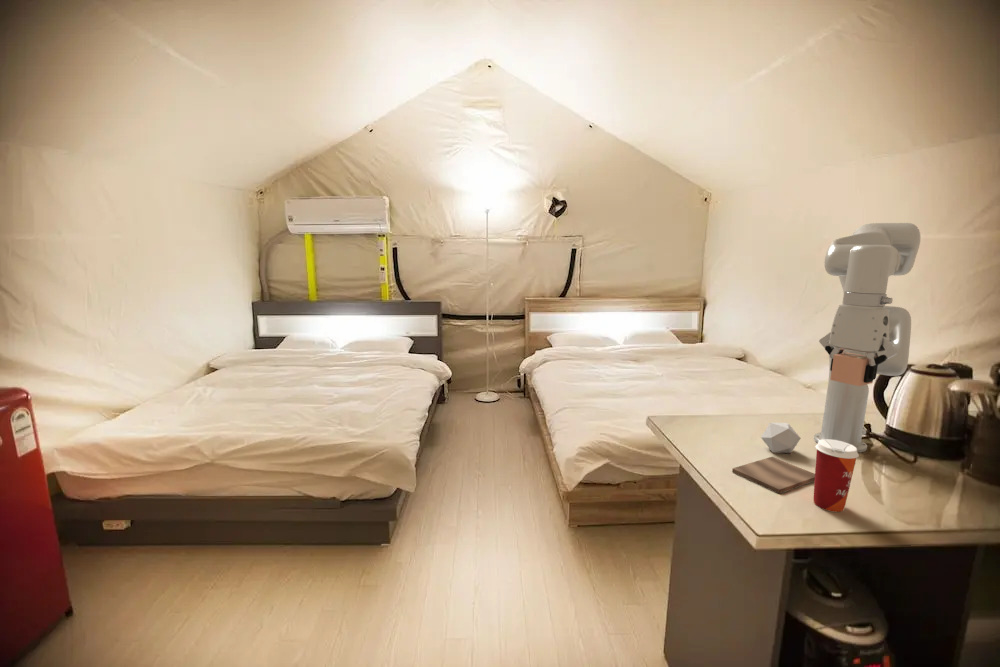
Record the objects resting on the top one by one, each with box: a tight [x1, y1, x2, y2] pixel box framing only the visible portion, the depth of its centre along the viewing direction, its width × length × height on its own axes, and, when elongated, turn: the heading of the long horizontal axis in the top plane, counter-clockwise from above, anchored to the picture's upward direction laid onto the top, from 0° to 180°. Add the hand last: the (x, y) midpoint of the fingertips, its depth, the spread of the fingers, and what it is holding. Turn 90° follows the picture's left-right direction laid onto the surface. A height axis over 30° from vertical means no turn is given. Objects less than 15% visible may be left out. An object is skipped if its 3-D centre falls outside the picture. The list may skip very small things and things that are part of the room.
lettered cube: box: [830, 353, 874, 386], centre depth 110 cm, size 6×6×6 cm
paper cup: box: [813, 439, 860, 513], centre depth 104 cm, size 8×8×14 cm
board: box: [731, 456, 815, 494], centre depth 118 cm, size 16×12×1 cm
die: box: [760, 422, 801, 454], centre depth 133 cm, size 8×9×10 cm
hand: (851, 377), depth 111 cm, fingers closed on lettered cube, 6 cm apart
